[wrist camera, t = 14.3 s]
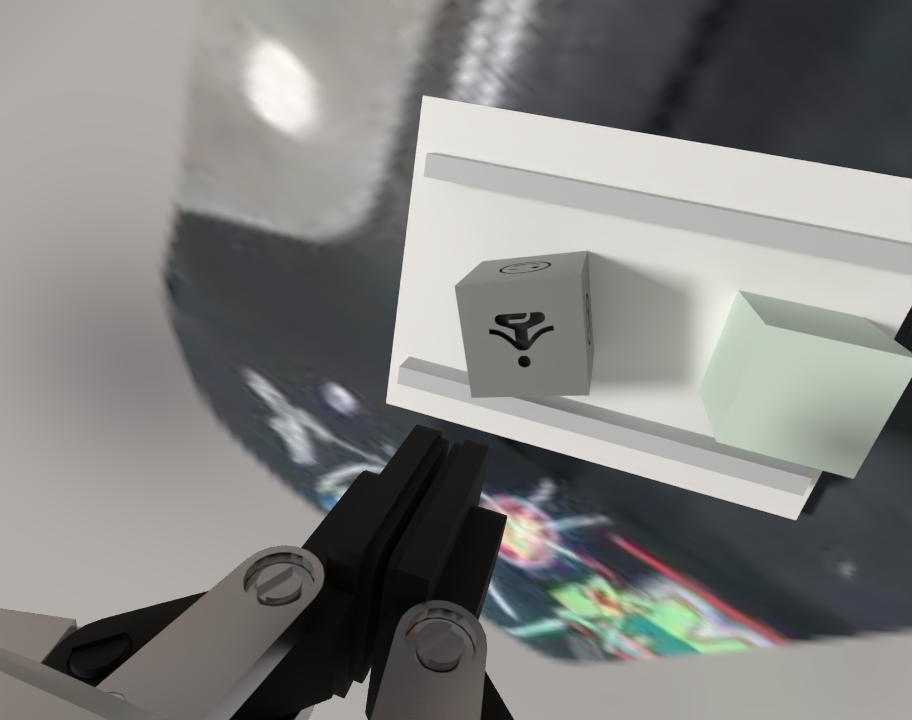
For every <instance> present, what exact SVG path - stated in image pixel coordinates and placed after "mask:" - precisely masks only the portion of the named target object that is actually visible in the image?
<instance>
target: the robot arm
mask: <svg viewBox="0 0 912 720" xmlns="http://www.w3.org/2000/svg"><path fill="white" fill-rule="evenodd" d="M448 445H449V441H448V440H446V439H442V432H441V431H439V430H435V429H432V428H429V427H425V426H422V425H416V426H415V427H414V429H413V430H412V431H411V433H410V434H409V435H408V437H407V438H406V440H405V441H404V442H403V444H402V445H401V446H400V448H399V449H398V450H397V452H396V453H395V454H394V456H393V457H392V459H391V460H390V461H389V463H388V464H387V465H386V467H385V468H384V469H383V471H382V472H381V474H380V475H379V474H376V473H373V472H370V471H367V470H366V471H363V472H362V473H361V474H360V475H359V476H358V477H357V478H356V480H355V481H354V482H353V483H352V485H351V486H350V487H349V488H348V490H347V491H346V492H345V493H344V495H343V496H342V497H341V498H340V500H339V501H338V502H337V503H336V505H335V506H334V507H333V509H332V510H331V511H330V512H329V514H328V515H327V516H326V517H325V519H324V520H323V521H322V522H321V524H320V525H319V526H318V528H317V529H316V530H315V531H314V532H313V534H312V535H311V536H310V537H309V539H308V540H307V541H306V543H305V544H304V545H303V546H302V548H299V547H294V546H277V547H270V548H267V549H264V550H262V551H259V552H257V553H256V554H254V555H252V556H251V557H249V558H248V559H246V560H245V561H244V562H243V563H241V564H240V565H239V566H238V567H237V568H236V569H234V570H233V571H232V572H231V573H230V574H229V575H227V576H226V577H225V578H224V579H223V580H221V581H220V582H219V583H218V584H217V585H215V586H214V587H213V588H212V589H211V590H210V591H207V592H203V593H199V594H195V595H191V596H187V597H184V598H180V599H176V600H172V601H168V602H165V603H161V604H157V605H153V606H150V607H146V608H142V609H138V610H134V611H131V612H127V613H123V614H119V615H115V616H111V617H108V618H104V619H101V620H98V621H95V622H93V623H90V624H87V625H85V626H83V627H77V624H76V620H75V619H69V618H62V617H55V616H48V615H42V614H35V613H28V612H20V611H14V610H7V609H0V720H308V719H309V717H310V715H311V713H312V711H313V708H314V705H315V704H318V703H321V702H323V701H326V700H328V699H331V698H332V696H333V694H335V695H337V696H340V697H342V698H345V696H346V694H347V692H348V690H349V688H350V686H351V684H352V682H353V680H354V681H356V682H359V683H363V681H364V680H365V678H366V676H367V674H368V672H369V670H370V668H371V674H370V682H369V689H368V697H367V704H366V711H365V713H366V716H367V718H368V720H514V719H513V717H512V716H511V714H510V712H509V711H508V709H507V707H506V705H505V704H504V702H503V700H502V699H501V697H500V695H499V693H498V692H497V690H496V688H495V687H494V685H493V683H492V682H491V680H490V678H489V676H488V675H487V673H486V671H485V666H486V655H487V642H486V635H485V633H484V630H483V628H482V626H481V624H480V622H479V621H478V620H479V617H480V614H481V610H482V607H483V604H484V601H485V597H486V594H487V591H488V587H489V584H490V581H491V577H492V574H493V570H494V567H495V563H496V560H497V556H498V552H499V549H500V545H501V541H502V537H503V533H504V529H505V525H506V521H507V515H504V514H501V513H498V512H494V511H491V510H488V509H485V508H482V507H479V506H478V504H479V500H480V495H481V491H482V486H483V482H484V477H485V473H486V468H487V463H488V459H489V454H490V448H491V446H489V445H486V444H483V443H479V442H476V441H472V440H469V439H466V440H465V442H464V443H463V444H459V443H454V445H453V447H452V448H451V450H450V452H449V454H448V456H447V451H448ZM446 456H447V457H446ZM371 666H372V667H371Z"/></svg>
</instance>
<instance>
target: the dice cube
mask: <svg viewBox="0 0 912 720" xmlns="http://www.w3.org/2000/svg"><path fill="white" fill-rule="evenodd" d="M455 292H456V299H457V305H458V312H459V318H460V325H461V332H462V338H463V345H464V351H465V358H466V364H467V371H468V378H469V384H470V391H471V397H472V398H489V397H536V396H583V395H589V394H590V385H591V376H592V367H593V358H594V343H593V327H592V312H591V297H590V282H589V267H588V252H587V251H579V252H569V253H559V254H549V255H539V256H529V257H519V258H509V259H499V260H489V261H482V262H481V263H480V264H479V265H477V266H476V267H475V268H474V269H473V270H472V271H471V272H470V273H469V274H467V275H466V276H465V277H464V278H463V279H462V280H461V281H460V282H458V283H457V284H456V285H455Z"/></svg>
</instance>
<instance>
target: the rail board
mask: <svg viewBox="0 0 912 720" xmlns="http://www.w3.org/2000/svg"><path fill="white" fill-rule="evenodd" d="M579 251H587V252H588V267H589V282H590V297H591V312H592V327H593V343H594V358H593V367H592V376H591V385H590V394H589V395H583V396H536V397H489V398H472V397H471V391H470V384H469V378H468V371H467V364H466V358H465V351H464V345H463V338H462V332H461V325H460V318H459V312H458V305H457V299H456V292H455V285H456V284H457V283H458V282H460V281H461V280H462V279H463V278H464V277H465V276H466V275H467V274H469V273H470V272H471V271H472V270H473V269H474V268H475V267H476V266H477V265H479V264H480V263H481V262H482V261H489V260H499V259H509V258H519V257H529V256H539V255H549V254H559V253H569V252H579ZM911 306H912V179H908V178H902V177H897V176H891V175H885V174H879V173H873V172H867V171H861V170H856V169H850V168H844V167H838V166H832V165H826V164H820V163H815V162H809V161H803V160H797V159H791V158H785V157H780V156H774V155H768V154H762V153H756V152H750V151H744V150H739V149H733V148H727V147H721V146H715V145H709V144H704V143H698V142H692V141H686V140H680V139H674V138H668V137H663V136H657V135H651V134H645V133H639V132H633V131H627V130H622V129H616V128H610V127H604V126H598V125H592V124H587V123H581V122H575V121H569V120H563V119H557V118H551V117H546V116H540V115H534V114H528V113H522V112H516V111H510V110H505V109H499V108H493V107H487V106H481V105H475V104H470V103H464V102H458V101H452V100H446V99H440V98H434V97H429V96H423V99H422V108H421V116H420V124H419V133H418V141H417V149H416V158H415V166H414V174H413V183H412V191H411V200H410V208H409V216H408V225H407V233H406V241H405V250H404V258H403V266H402V275H401V283H400V292H399V300H398V308H397V317H396V325H395V333H394V342H393V350H392V358H391V367H390V375H389V383H388V392H387V400H386V403H388V404H392V405H395V406H398V407H402V408H405V409H409V410H412V411H416V412H419V413H423V414H426V415H430V416H433V417H437V418H440V419H444V420H447V421H451V422H454V423H458V424H461V425H465V426H468V427H472V428H475V429H479V430H482V431H486V432H489V433H493V434H496V435H500V436H503V437H507V438H510V439H514V440H517V441H521V442H524V443H528V444H531V445H535V446H538V447H542V448H545V449H549V450H552V451H556V452H559V453H563V454H566V455H570V456H573V457H577V458H580V459H584V460H587V461H591V462H594V463H598V464H601V465H605V466H608V467H612V468H615V469H619V470H622V471H626V472H629V473H633V474H636V475H640V476H643V477H646V478H650V479H653V480H657V481H660V482H664V483H667V484H671V485H674V486H678V487H681V488H685V489H688V490H692V491H695V492H699V493H702V494H706V495H709V496H713V497H716V498H720V499H723V500H727V501H730V502H734V503H737V504H741V505H744V506H748V507H751V508H755V509H758V510H762V511H765V512H769V513H772V514H776V515H779V516H783V517H786V518H790V519H793V520H796V519H797V517H798V516H799V514H800V512H801V510H802V508H803V506H804V505H805V503H806V501H807V499H808V497H809V495H810V493H811V492H812V490H813V488H814V486H815V484H816V482H817V480H818V479H819V477H820V475H821V473H822V471H827V472H830V473H834V474H838V475H842V476H845V477H849V478H853V479H854V477H855V475H856V474H857V472H858V470H859V468H860V467H861V465H862V463H863V461H864V460H865V458H866V456H867V454H868V453H869V451H870V449H871V447H872V446H873V444H874V442H875V440H876V439H877V437H878V435H879V433H880V432H881V430H882V428H883V426H884V425H885V423H886V421H887V419H888V418H889V416H890V414H891V412H892V411H893V409H894V407H895V405H896V404H897V402H898V400H899V398H900V397H901V395H902V393H903V392H904V390H905V388H906V386H907V385H908V383H909V381H910V379H911V378H912V353H911V352H910V351H909V350H907V349H906V348H904V347H903V346H902V345H900V344H899V343H897V342H896V341H895V340H894V338H895V336H896V334H897V332H898V330H899V328H900V327H901V325H902V323H903V321H904V319H905V317H906V315H907V314H908V312H909V310H910V308H911Z"/></svg>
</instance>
